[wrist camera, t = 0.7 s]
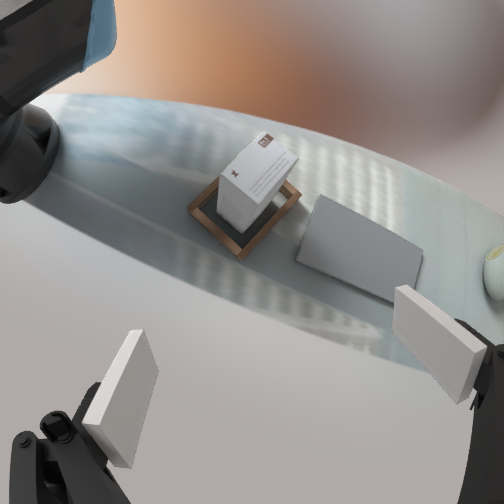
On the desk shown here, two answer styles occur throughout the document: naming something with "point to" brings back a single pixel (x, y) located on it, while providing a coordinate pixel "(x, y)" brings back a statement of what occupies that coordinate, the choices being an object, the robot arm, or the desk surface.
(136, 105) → the desk surface
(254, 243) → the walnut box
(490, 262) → the air freshener
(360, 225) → the slate board
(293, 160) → the skincare box
